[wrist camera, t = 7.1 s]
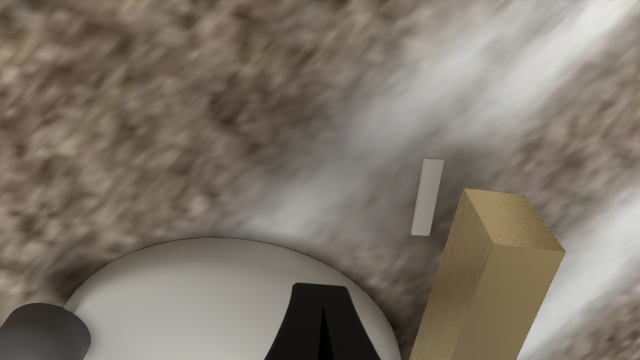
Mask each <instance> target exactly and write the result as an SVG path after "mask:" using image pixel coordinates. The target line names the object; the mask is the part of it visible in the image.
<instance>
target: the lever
mask: <svg viewBox="0 0 640 360" xmlns="http://www.w3.org/2000/svg"><path fill="white" fill-rule="evenodd" d="M564 254H565V250H564V249H563V248H562V246H561V245H560V244H559V242H558V241H557V239H556V238H555V237H554V235H553V234H552V233H551V231H550V230H549V229H548V227H547V226H546V224H545V223H544V222H543V220H542V219H541V218H540V216H539V215H538V213H537V212H536V211H535V209H534V208H533V207H532V205H531V204H530V203H529V201H528V200H527V198H526V197H525V196H524V195H517V194H508V193H500V192H492V191H483V190H475V189H467V188H464V189H463V192H462V196H461V199H460V202H459V205H458V208H457V211H456V214H455V218H454V221H453V224H452V227H451V230H450V233H449V236H448V239H447V243H446V246H445V249H444V252H443V255H442V258H441V261H440V265H439V268H438V271H437V274H436V277H435V280H434V283H433V286H432V290H431V293H430V296H429V299H428V302H427V305H426V308H425V312H424V315H423V318H422V321H421V324H420V327H419V330H418V333H417V337H416V340H415V343H414V346H413V349H412V352H411V355H410V359H409V360H516V358H517V356H518V354H519V352H520V350H521V348H522V345H523V343H524V341H525V339H526V337H527V335H528V332H529V330H530V328H531V326H532V324H533V322H534V319H535V317H536V315H537V313H538V311H539V309H540V306H541V304H542V302H543V300H544V298H545V295H546V293H547V291H548V289H549V287H550V285H551V282H552V280H553V278H554V276H555V274H556V272H557V269H558V267H559V265H560V263H561V261H562V259H563V256H564Z"/></svg>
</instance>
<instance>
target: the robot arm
mask: <svg viewBox="0 0 640 360" xmlns="http://www.w3.org/2000/svg"><path fill="white" fill-rule="evenodd" d="M264 360H381V358H380V357H379V355H378V353H377V351H376V349H375V348H374V346H373V344H372V342H371V340H370V338H369V336H368V334H367V332H366V330H365V328H364V326H363V324H362V322H361V320H360V318H359V316H358V313H357V311H356V309H355V306H354V304H353V301H352V299H351V296H350V293H349V290H348V289H347V288H346V287H345V286H338V285H325V284H313V283H300V282H297V283H295V284H294V285H292V292H291V297H290V301H289V305H288V308H287V311H286V313H285V316H284V319H283V321H282V324H281V326H280V328H279V330H278V333H277V335H276V337H275V340H274V342H273V344H272V346H271V348H270V350H269V351H268V353H267V355H266V357H265V359H264Z"/></svg>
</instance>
